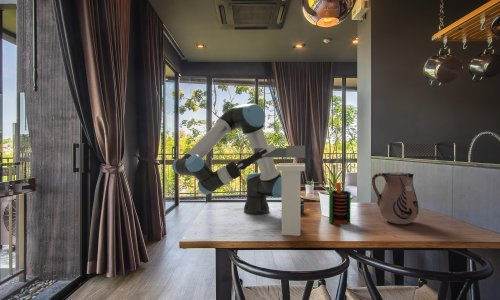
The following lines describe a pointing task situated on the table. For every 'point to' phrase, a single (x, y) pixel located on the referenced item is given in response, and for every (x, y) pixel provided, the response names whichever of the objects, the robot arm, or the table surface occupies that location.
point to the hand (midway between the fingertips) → (274, 146)
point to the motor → (339, 206)
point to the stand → (291, 197)
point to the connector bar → (285, 152)
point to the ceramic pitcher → (397, 197)
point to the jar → (302, 206)
